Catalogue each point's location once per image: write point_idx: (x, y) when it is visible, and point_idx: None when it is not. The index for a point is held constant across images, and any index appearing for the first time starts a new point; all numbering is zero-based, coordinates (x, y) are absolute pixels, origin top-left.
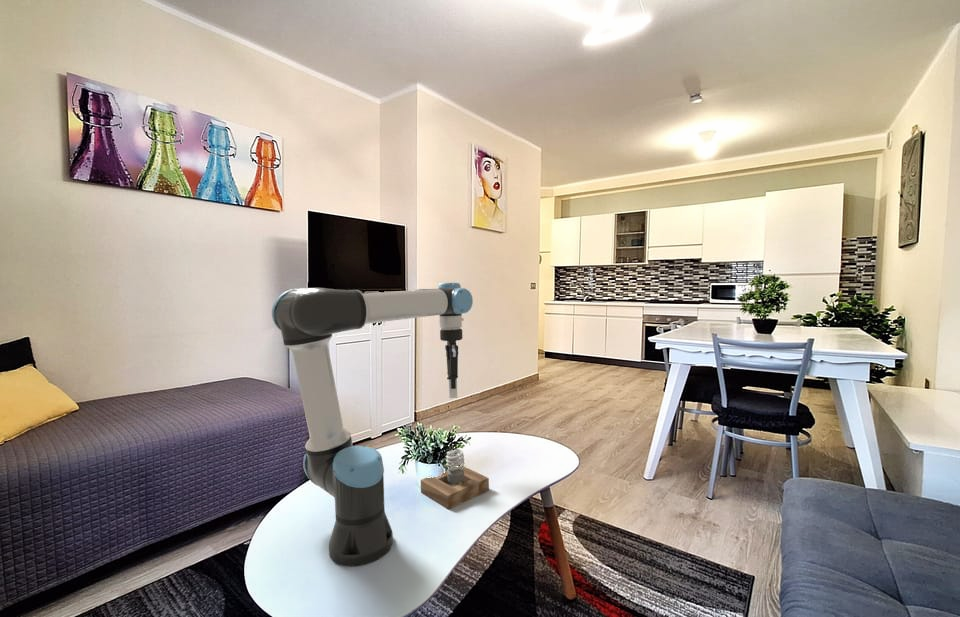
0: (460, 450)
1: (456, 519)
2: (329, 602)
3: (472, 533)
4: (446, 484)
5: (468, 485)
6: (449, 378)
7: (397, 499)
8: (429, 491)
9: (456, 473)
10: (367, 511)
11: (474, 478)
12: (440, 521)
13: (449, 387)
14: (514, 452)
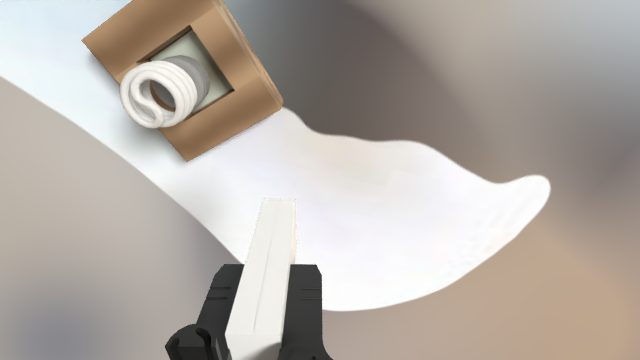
0: (155, 123)
1: (61, 50)
2: None
3: (9, 76)
4: (152, 47)
5: None
6: (177, 353)
7: None
8: None
9: (155, 85)
10: None
11: (186, 129)
12: (45, 6)
13: (246, 259)
14: (379, 239)
